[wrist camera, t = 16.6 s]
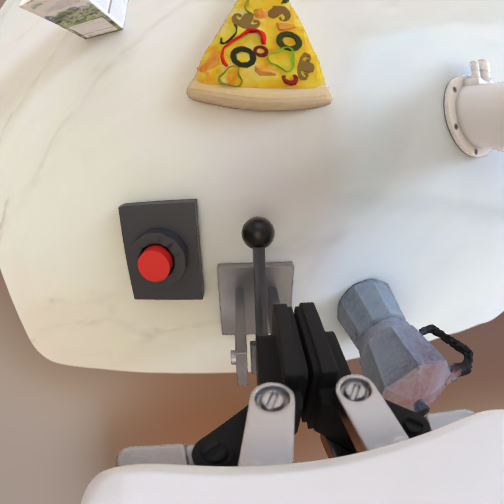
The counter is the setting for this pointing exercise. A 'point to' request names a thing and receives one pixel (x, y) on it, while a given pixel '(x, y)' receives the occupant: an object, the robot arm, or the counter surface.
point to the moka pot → (397, 348)
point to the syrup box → (81, 14)
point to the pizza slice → (261, 62)
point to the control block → (170, 237)
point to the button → (155, 263)
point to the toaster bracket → (249, 303)
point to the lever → (258, 273)
